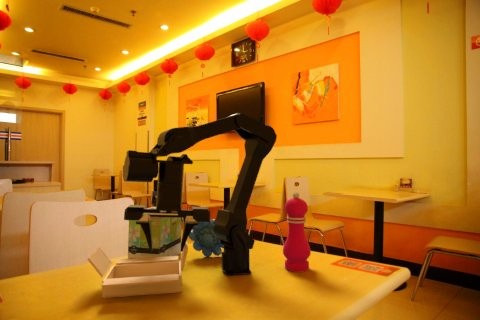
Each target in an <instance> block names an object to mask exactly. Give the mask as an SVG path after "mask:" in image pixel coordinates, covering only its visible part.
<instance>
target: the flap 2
mask: <svg viewBox="0 0 480 320" xmlns="http://www.w3.org/2000/svg"><path fill="white" fill-rule="evenodd" d="M188 245H189V244H188V240H187V241H186V244H185V246H184V249H183V251H182V252H181V256H180V261H181V271H182V272H184V268H185V265H186V260H187V255H188V252H189V246H188Z"/></svg>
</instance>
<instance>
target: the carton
mask: <svg viewBox="0 0 480 320" xmlns="http://www.w3.org/2000/svg"><path fill="white" fill-rule="evenodd" d="M157 262H159V263H157ZM140 263H142V264H140ZM182 272H183V271H181V260H179V255H177V256H165V257H147V258H130V259H128V258H119V259H118V260H117V261H116V263H115V265H114V264H113V265H111V266H110V269H108V271H107V272H106V274H105V276H104V277H103V279H102V281H101V298H102V299H109V298H122V297H124V298H125V297H134V296H150V295H151V296H152V295H163V294H173V293H174V294H175V293H177V294H178V293H182V292H183V291H182V290H183V288H182V287H183V278H182V277H183V273H182Z"/></svg>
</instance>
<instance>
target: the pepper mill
mask: <svg viewBox="0 0 480 320" xmlns="http://www.w3.org/2000/svg"><path fill="white" fill-rule="evenodd" d="M308 207H309V206H308V203H307V202H306V201H305V199H302V198H300V193H299V192H297V191H295V192H294V193H292V198H290V199H288V200H287V201H286V202H285V205H284V211H285V213H286V214H287V216H286V218H287V219H286V222H287V223H288V233H287V236H286V237H287V238H286V239H285V240H284V243H283V247H282V254H283V256H284V257H285V258H286V260H284V268H285V269H286V270H287V271H289V272H298V273H299V272H300V273H302V272H307V271H308V270H309V269H310V262H309V260H308V259H309V258H310V256H311V254H312V253H311V252H312V251H311V247H310V244H309V242H308V239H307V237H306V233H305V223H307V221H306V219H307V217H306V216H305V215H306V214H308V211H309V208H308Z"/></svg>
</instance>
